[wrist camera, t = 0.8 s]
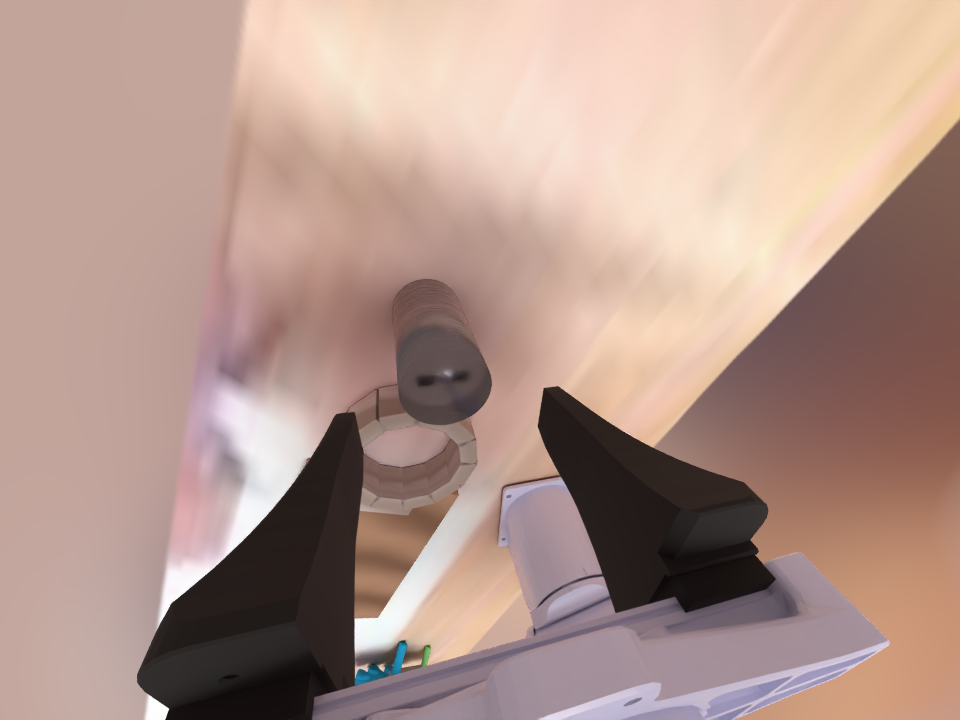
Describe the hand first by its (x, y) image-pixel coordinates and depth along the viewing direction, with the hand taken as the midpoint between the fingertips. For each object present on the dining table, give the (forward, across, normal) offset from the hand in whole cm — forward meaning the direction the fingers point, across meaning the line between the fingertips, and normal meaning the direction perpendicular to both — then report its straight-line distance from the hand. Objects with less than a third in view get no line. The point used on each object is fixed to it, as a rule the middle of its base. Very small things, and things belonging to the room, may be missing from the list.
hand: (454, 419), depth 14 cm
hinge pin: (+10, 0, 0) cm, 10 cm away
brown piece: (+10, +6, +19) cm, 22 cm away
